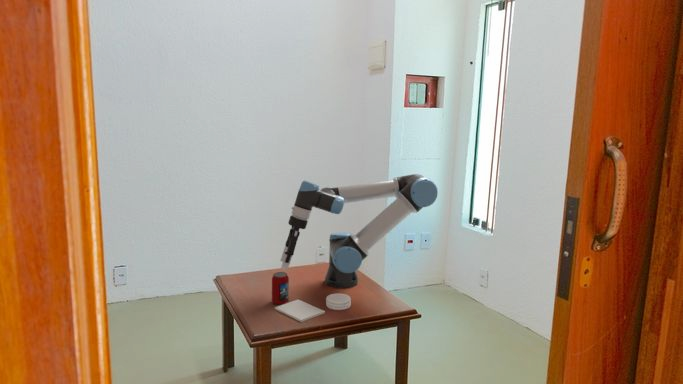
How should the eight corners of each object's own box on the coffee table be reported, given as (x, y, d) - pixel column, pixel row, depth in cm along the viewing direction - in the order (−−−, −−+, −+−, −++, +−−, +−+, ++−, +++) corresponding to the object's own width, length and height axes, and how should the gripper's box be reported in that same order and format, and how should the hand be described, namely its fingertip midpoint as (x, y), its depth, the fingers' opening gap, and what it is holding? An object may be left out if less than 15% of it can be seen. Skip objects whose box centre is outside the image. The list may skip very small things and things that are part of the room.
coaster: (355, 308, 195) (355, 299, 194) (332, 312, 190) (333, 304, 189) (343, 299, 203) (343, 291, 203) (321, 303, 199) (321, 295, 198)
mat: (274, 309, 191) (274, 307, 191) (298, 301, 200) (298, 299, 200) (301, 322, 180) (301, 320, 180) (324, 313, 189) (324, 311, 188)
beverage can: (285, 306, 194) (285, 277, 192) (269, 304, 196) (269, 276, 194) (290, 300, 201) (290, 272, 199) (275, 298, 202) (275, 270, 200)
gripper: (289, 210, 213) (274, 256, 214) (292, 219, 188) (275, 270, 189) (306, 215, 214) (291, 261, 215) (310, 225, 189) (293, 276, 191)
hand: (283, 265), depth 202 cm, fingers open, 13 cm apart
